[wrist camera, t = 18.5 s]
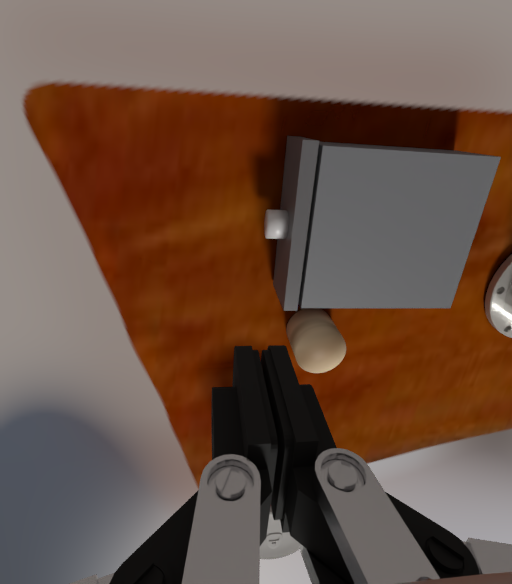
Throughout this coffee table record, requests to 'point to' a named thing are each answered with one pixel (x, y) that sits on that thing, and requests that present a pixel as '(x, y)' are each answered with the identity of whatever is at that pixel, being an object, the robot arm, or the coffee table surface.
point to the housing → (392, 225)
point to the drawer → (293, 218)
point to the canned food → (277, 541)
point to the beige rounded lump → (315, 340)
